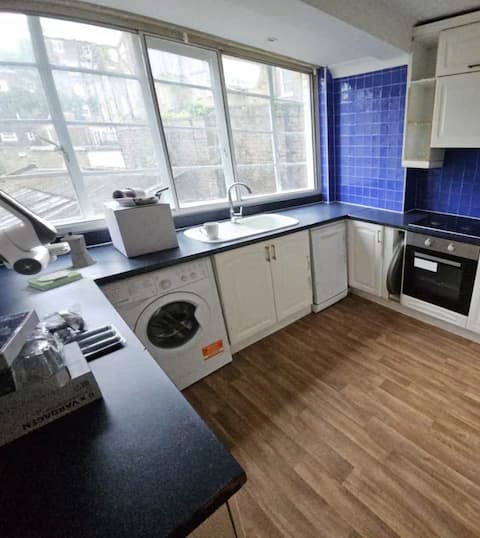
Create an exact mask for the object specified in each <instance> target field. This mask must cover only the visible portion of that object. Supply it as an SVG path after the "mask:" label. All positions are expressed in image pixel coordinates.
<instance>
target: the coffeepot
mask: <svg viewBox="0 0 480 538" xmlns="http://www.w3.org/2000/svg"><path fill="white" fill-rule="evenodd" d="M67 234H68V235H66V234H64V235H63V236H62V238H60V243H63V242H67V243H68V244H69V246H70V251H69V252H68V253H69V255H70V259H71V264H72V267H73V268H75V269H80V268H85V267H89V266H92V265H94V264H95V260H94V259H93V257H92V255H91V254H90V252H88V250H87V245H86V240H85V236H84V235H83V234H73V232H72V231H68V232H67Z"/></svg>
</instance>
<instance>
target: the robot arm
mask: <svg viewBox="0 0 480 538" xmlns="http://www.w3.org/2000/svg"><path fill="white" fill-rule="evenodd" d="M0 207H1V208H2V209H3V210H6V211H7V212H8V213H10V214H11V215H13V216H14V217H16V218H17V219H18V220H20V221H21V222H20V223H17V224H14V225H12V226H11V225H10V226H9V227H6V228H2V229H0V261H1V262H3V264H4V265H5V267H6V268H7V269H8V270H11V269H12V270H13V271H14V272H15V273H16V274H18V275H22V276H35V275H38V274H40V273H42V272H43V271H44V270H45V269H46V268H47V266H48V265H49V263H48V262H49V260H50V258H51V256H55V255H56V256H59V255H64V254H67V253H70V252H69V251H70V246H69V244H68V243H67V242H63V243H62V242H58V243H54V242H55V241H56V239H57V236H58V234H59V233H58V232H59V231H57V229H56V227H55V226H54V225H53V224H51V222H49V221H47V220H46V219H44V218H42V217H41V216H39V215H38V214H36V213H35V212H34V211H31V210H30V209H29V208H27V207H26V206H25V205H24V204H22V203H21V202H19V201H18V200H16V198H14V197H12V196H11V195H10V194H8V193H7V192H5V191H4V190H3V189H1V188H0ZM48 243H50V245H45V244H48ZM51 243H52V244H51ZM41 245H45V246H41Z"/></svg>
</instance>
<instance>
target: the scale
mask: <svg viewBox="0 0 480 538" xmlns="http://www.w3.org/2000/svg"><path fill="white" fill-rule="evenodd" d="M81 279H83V275H82V273H81V272H77V271H74V270H69V269H66V268H64V269H62V270H58V271H55V272H51V273H47V274H44V275H42V276H38V277H35V278H32V279H29V280H26V282H27V284H28V285H29V287H32V288H35V289H38V290H41V291H43V292H45V291H48V290H51V289H54V288H57V287H60V286H63V285H66V284H69V283H72V282H76V281H78V280H81Z"/></svg>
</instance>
